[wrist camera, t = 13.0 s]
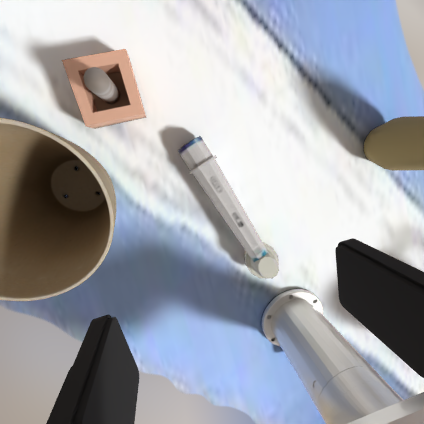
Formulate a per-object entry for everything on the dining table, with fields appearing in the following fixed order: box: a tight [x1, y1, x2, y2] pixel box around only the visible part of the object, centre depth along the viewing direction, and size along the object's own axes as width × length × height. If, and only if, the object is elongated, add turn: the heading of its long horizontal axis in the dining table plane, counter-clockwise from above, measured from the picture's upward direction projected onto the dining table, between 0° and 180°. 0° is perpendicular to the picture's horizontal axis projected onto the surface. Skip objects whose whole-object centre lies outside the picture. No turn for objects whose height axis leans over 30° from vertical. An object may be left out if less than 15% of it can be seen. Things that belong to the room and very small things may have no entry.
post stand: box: [84, 67, 145, 129], centre depth 28 cm, size 7×7×8 cm
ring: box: [62, 49, 146, 128], centre depth 29 cm, size 7×7×3 cm
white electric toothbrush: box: [178, 136, 279, 278], centre depth 37 cm, size 5×7×25 cm
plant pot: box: [0, 118, 116, 301], centre depth 26 cm, size 15×15×16 cm
